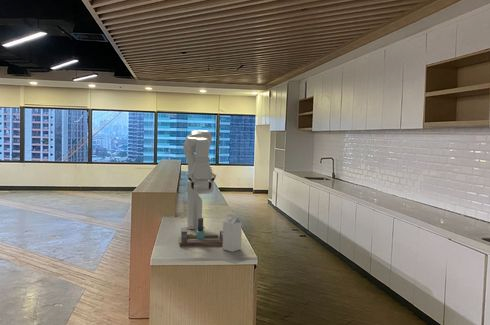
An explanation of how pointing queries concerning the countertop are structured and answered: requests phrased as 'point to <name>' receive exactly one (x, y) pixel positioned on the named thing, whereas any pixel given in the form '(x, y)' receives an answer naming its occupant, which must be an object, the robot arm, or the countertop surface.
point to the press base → (207, 241)
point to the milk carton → (232, 233)
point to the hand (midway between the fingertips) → (201, 189)
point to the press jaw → (200, 229)
